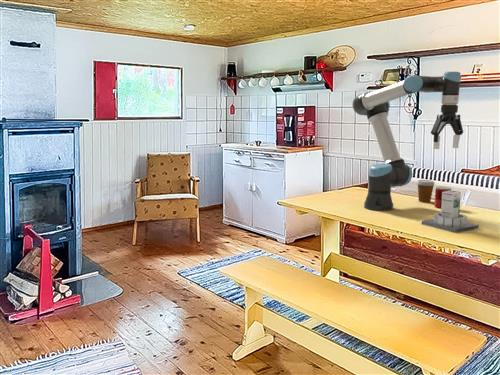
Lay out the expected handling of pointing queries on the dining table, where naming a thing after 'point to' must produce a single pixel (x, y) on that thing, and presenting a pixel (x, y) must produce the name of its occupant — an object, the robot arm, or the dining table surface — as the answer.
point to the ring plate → (449, 228)
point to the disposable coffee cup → (425, 190)
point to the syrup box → (450, 204)
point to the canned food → (440, 195)
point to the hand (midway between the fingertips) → (445, 148)
